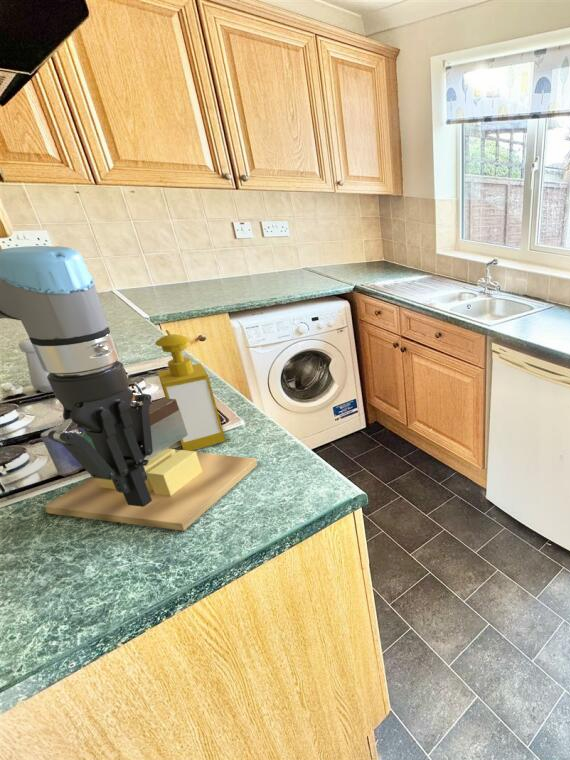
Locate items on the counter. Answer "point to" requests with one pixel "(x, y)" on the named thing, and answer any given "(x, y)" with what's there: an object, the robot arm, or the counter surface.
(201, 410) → the soap bottle
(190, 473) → the butter pat
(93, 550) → the counter surface
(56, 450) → the flask
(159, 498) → the butter board
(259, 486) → the counter surface
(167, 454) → the butter block
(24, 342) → the salt shaker
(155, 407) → the dough scraper
